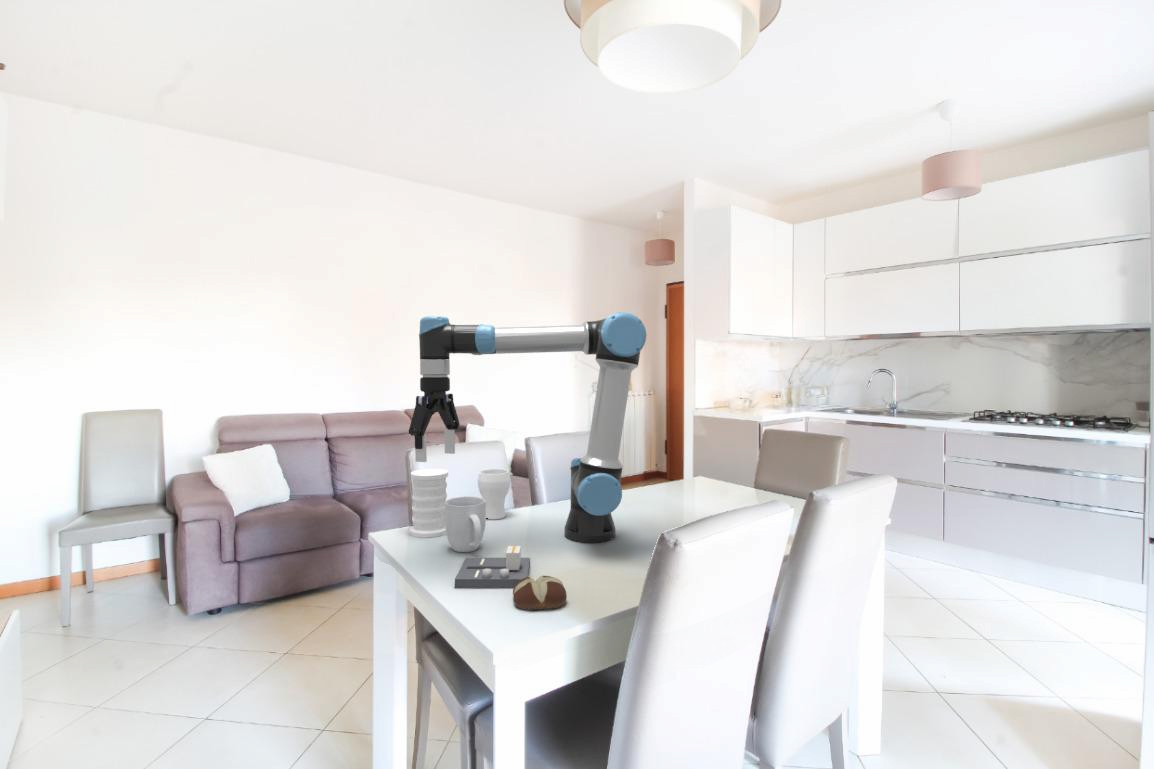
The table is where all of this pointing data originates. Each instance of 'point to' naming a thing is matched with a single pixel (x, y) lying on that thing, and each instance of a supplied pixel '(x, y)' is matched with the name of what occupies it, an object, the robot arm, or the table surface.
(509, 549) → the fader cap
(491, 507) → the cup
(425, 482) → the decorative container
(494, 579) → the console
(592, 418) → the robot arm
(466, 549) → the mug
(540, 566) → the table surface
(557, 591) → the bread
